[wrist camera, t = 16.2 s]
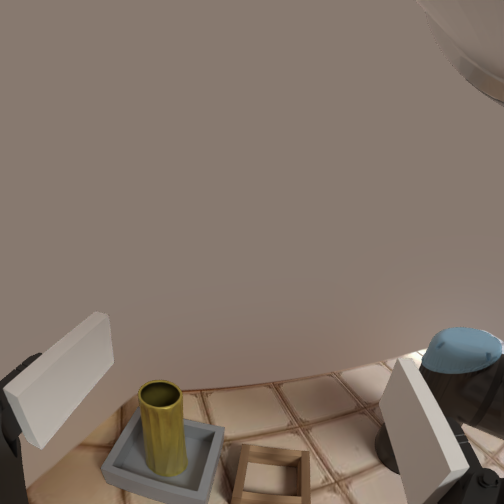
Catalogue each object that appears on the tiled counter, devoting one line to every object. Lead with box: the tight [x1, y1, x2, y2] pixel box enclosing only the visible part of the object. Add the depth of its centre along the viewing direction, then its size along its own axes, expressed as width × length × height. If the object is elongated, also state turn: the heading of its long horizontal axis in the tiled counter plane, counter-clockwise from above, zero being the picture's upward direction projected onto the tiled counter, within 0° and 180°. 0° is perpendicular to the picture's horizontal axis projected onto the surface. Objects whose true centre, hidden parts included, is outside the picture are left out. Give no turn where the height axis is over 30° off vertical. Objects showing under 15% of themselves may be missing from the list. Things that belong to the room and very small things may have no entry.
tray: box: [100, 407, 225, 504], centre depth 35 cm, size 14×14×4 cm
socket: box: [231, 444, 311, 504], centre depth 34 cm, size 10×10×3 cm
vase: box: [138, 380, 188, 477], centre depth 34 cm, size 6×6×14 cm
